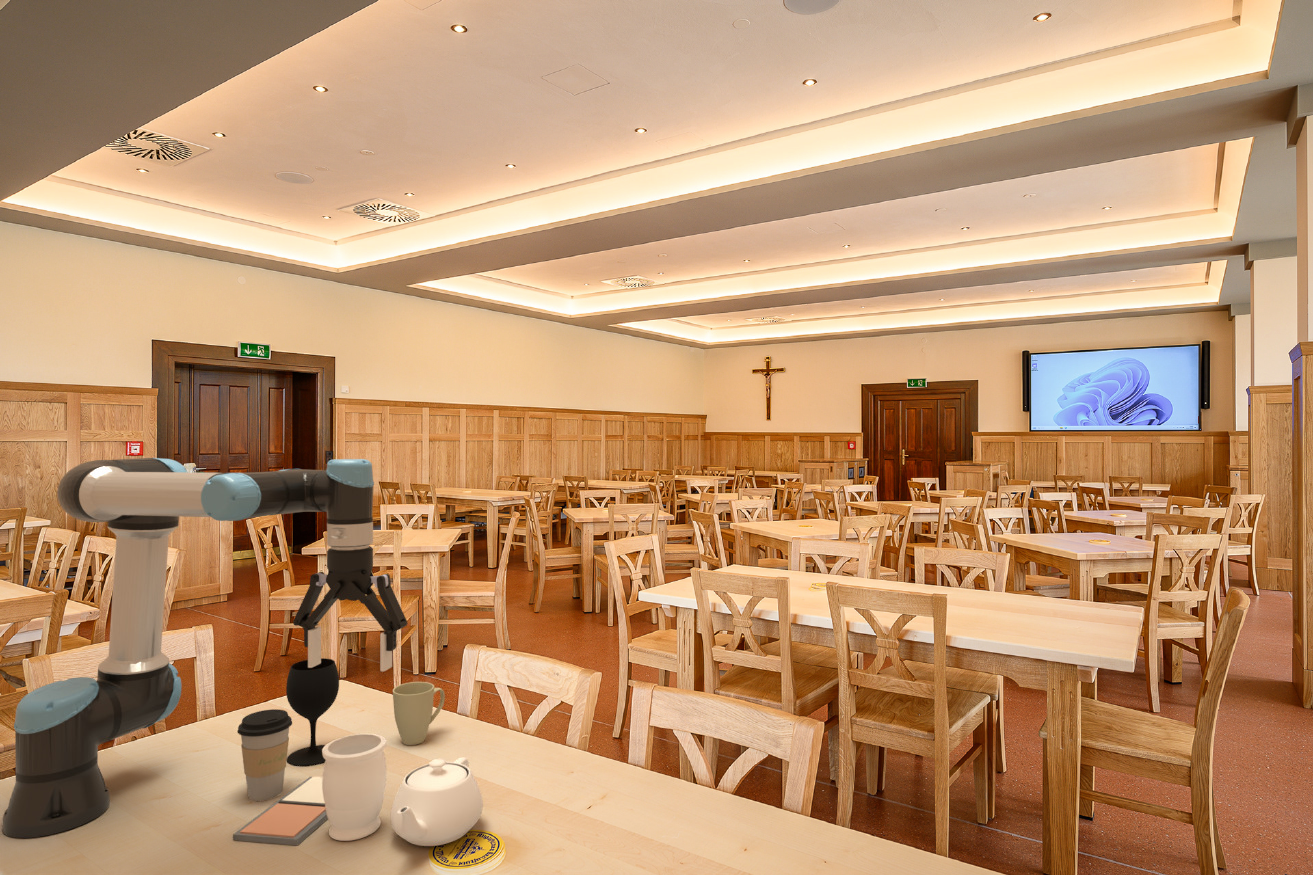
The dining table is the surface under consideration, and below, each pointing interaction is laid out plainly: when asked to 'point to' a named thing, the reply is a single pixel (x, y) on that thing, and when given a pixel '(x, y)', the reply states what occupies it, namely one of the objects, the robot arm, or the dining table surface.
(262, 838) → the makeup palette
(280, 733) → the coffee cup
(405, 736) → the mug
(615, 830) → the dining table surface
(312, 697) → the wine glass
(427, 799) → the teapot
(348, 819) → the jar
